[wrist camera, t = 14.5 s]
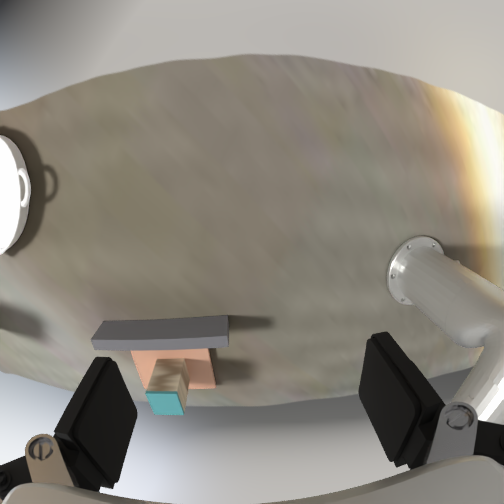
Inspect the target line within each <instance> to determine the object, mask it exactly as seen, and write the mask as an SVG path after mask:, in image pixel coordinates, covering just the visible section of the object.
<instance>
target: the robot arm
mask: <svg viewBox="0 0 504 504" xmlns="http://www.w3.org/2000/svg"><path fill="white" fill-rule="evenodd" d="M387 286H388V289H389V292H390V294H391V295H392V296H393V298H395V299H396V300H397V301H398V302H400V303H401V304H405V305H413V304H414V305H415V306H416V307H417V308H419V309H420V310H421V311H422V312H423V313H424V314H425V315H426V316H427V317H428V318H429V319H430V320H431V321H432V322H434V323H435V324H436V325H437V326H438V327H439V328H440V329H441V330H442V331H443V332H444V333H445V334H446V335H447V336H448V337H449V338H450V339H451V340H452V341H453V342H455V343H456V344H457V345H459V346H462V347H465V348H477V347H483V346H484V349H483V351H482V353H481V355H480V357H479V359H478V361H477V362H476V364H475V366H474V367H473V369H472V371H471V372H470V373H469V375H468V377H467V378H466V379H465V381H464V382H463V384H462V385H461V387H460V388H459V390H458V391H457V393H456V394H455V396H454V397H453V399H452V401H451V403H449V404H447V405H445V404H444V402H443V401H442V399H441V398H440V397H439V396H438V394H437V393H436V391H435V390H434V389H433V387H432V386H431V385H430V384H429V382H428V381H427V379H426V378H425V377H424V375H423V374H422V373H421V371H420V370H419V369H418V368H417V366H416V365H415V364H414V363H413V362H412V361H411V360H410V359H409V358H408V357H407V355H406V354H405V353H404V352H403V350H402V349H401V348H400V347H399V345H398V344H397V343H396V341H395V340H394V339H393V338H392V336H391V335H390V334H389V333H388V332H381V333H376V334H373V335H372V336H371V339H368V340H367V344H366V351H365V357H364V363H363V369H362V375H361V381H360V386H359V397H360V400H361V402H362V404H363V406H364V408H365V410H366V412H367V414H368V416H369V419H370V421H371V423H372V425H373V427H374V429H375V431H376V433H377V435H378V438H379V440H380V442H381V444H382V447H383V449H384V451H385V453H386V455H387V458H388V459H389V461H390V462H393V461H394V463H395V466H396V467H399V466H402V465H404V464H407V465H408V467H409V468H410V470H409V471H406V472H403V473H400V474H397V475H395V476H392V477H389V478H385V479H383V480H379V481H376V482H372V483H369V484H365V485H362V486H358V487H354V488H350V489H346V490H343V491H338V492H334V493H329V494H325V495H319V496H314V497H308V498H303V499H296V500H289V501H282V502H272V503H262V504H504V290H503V289H501V288H500V287H498V286H496V285H494V284H493V283H491V282H489V281H488V280H486V279H484V278H483V277H481V276H480V275H478V274H476V273H474V272H473V271H471V270H469V269H468V268H466V267H464V266H463V265H461V264H460V262H459V261H458V260H455V261H454V260H452V259H450V258H448V257H447V256H445V255H444V252H443V249H442V248H441V246H440V244H439V243H438V242H437V241H435V240H434V239H432V238H430V237H427V236H416V237H413V238H411V239H409V240H407V241H406V242H404V243H403V244H402V245H401V246H400V247H399V248H398V249H397V251H396V252H395V254H394V255H393V257H392V259H391V261H390V263H389V267H388V270H387ZM136 419H137V409H136V407H135V405H134V402H133V400H132V398H131V396H130V394H129V391H128V389H127V387H126V385H125V382H124V380H123V378H122V375H121V373H120V370H119V368H118V366H117V363H116V362H115V361H113V360H112V359H111V358H110V357H96V358H95V359H94V360H93V362H92V364H91V365H90V367H89V369H88V370H87V372H86V374H85V376H84V377H83V379H82V381H81V382H80V384H79V386H78V388H77V389H76V391H75V393H74V395H73V397H72V398H71V400H70V402H69V404H68V406H67V407H66V409H65V411H64V413H63V415H62V417H61V419H60V421H59V423H58V424H57V426H56V428H55V430H54V432H55V434H54V436H53V437H52V436H50V435H48V434H39V435H36V436H34V437H32V438H31V439H30V440H29V441H28V443H27V445H26V447H25V456H23V457H20V458H18V459H16V460H13V461H11V462H8V463H6V464H3V465H0V504H170V503H160V502H151V501H144V500H137V499H130V498H124V497H118V496H113V495H108V494H103V493H100V492H99V490H100V487H106V488H111V489H113V487H114V484H115V483H117V482H118V481H119V478H120V474H121V471H122V467H123V463H124V460H125V456H126V453H127V449H128V446H129V442H130V439H131V435H132V432H133V429H134V425H135V422H136Z"/></svg>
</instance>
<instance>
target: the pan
mask: <svg viewBox="0 0 504 504" xmlns="http://www.w3.org/2000/svg"><path fill="white" fill-rule="evenodd" d="M30 195H31V185H30V179H29V176H28V173H27V169H26V165H25V161H24V159H23V157H22V154H21V152H20V150H19V149H18V147H17V146H16V144H15V143H13V142H12V141H11V140H10V139H9V138H7V137H5V136H3V135H0V255H1V254H3V253H4V252H5V251H6V250H7V249H8V248H10V247H11V246H13V244H14V243H15V242H16V241H17V240H18V239H19V237H20V235H21V233H22V232H23V229H24V226H25V224H26V220H27V215H28V210H29V200H30Z"/></svg>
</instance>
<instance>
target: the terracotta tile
mask: <svg viewBox="0 0 504 504" xmlns="http://www.w3.org/2000/svg"><path fill="white" fill-rule="evenodd" d="M131 354H132V356H133V359H134V362H135V365H136V367H137V370H138V373H139V375H140V378H141V381H142V383H143V386H144V388H145V389H147V387H148V384H149V381H150V378H151V375H152V372H153V369H154V366H155V363H156V360H157V359H173V358H184V359H185V363H186V367H187V370H188V374H189V378H190V382H189V387H188V389H205V388H216V381H215V377H214V372H213V367H212V362H211V357H210V352H209V348H205V349H185V350H144V351H131Z"/></svg>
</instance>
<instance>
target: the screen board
mask: <svg viewBox="0 0 504 504" xmlns="http://www.w3.org/2000/svg"><path fill="white" fill-rule="evenodd" d="M91 342H92V344H93V347H94V349H95V350H126V351H144V350H185V349H205V348H221V347H229V321H228V315H221V316H208V317H193V318H177V319H157V320H130V321H103V323H102V324H101V326H100V327H99V328H98V330H97V331H96V333H95V334H94V336H93V337H92V338H91Z"/></svg>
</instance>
